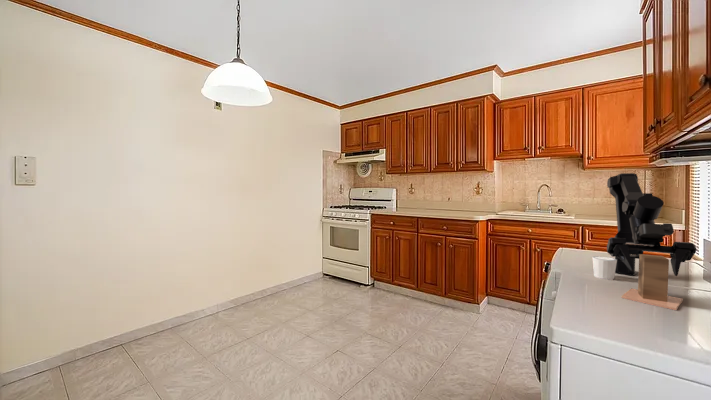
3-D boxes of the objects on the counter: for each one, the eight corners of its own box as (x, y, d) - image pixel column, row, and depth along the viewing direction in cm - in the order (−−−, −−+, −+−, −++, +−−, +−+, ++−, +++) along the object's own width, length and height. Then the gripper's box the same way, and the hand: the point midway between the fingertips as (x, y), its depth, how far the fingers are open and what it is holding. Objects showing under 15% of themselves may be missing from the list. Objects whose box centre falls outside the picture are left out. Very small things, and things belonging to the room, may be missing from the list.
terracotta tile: (631, 290, 93) (631, 288, 93) (682, 300, 84) (682, 298, 84) (621, 297, 87) (621, 295, 87) (676, 310, 78) (676, 308, 78)
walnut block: (637, 293, 89) (639, 253, 89) (660, 296, 86) (662, 255, 86) (642, 298, 85) (644, 257, 84) (667, 301, 82) (668, 259, 82)
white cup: (621, 280, 104) (622, 260, 103) (602, 280, 104) (602, 260, 104) (605, 274, 111) (606, 255, 110) (587, 274, 111) (587, 255, 110)
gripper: (609, 212, 93) (616, 253, 85) (695, 214, 83) (712, 261, 75) (604, 233, 100) (609, 273, 92) (682, 238, 90) (697, 283, 82)
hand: (653, 272), depth 85 cm, fingers open, 9 cm apart
